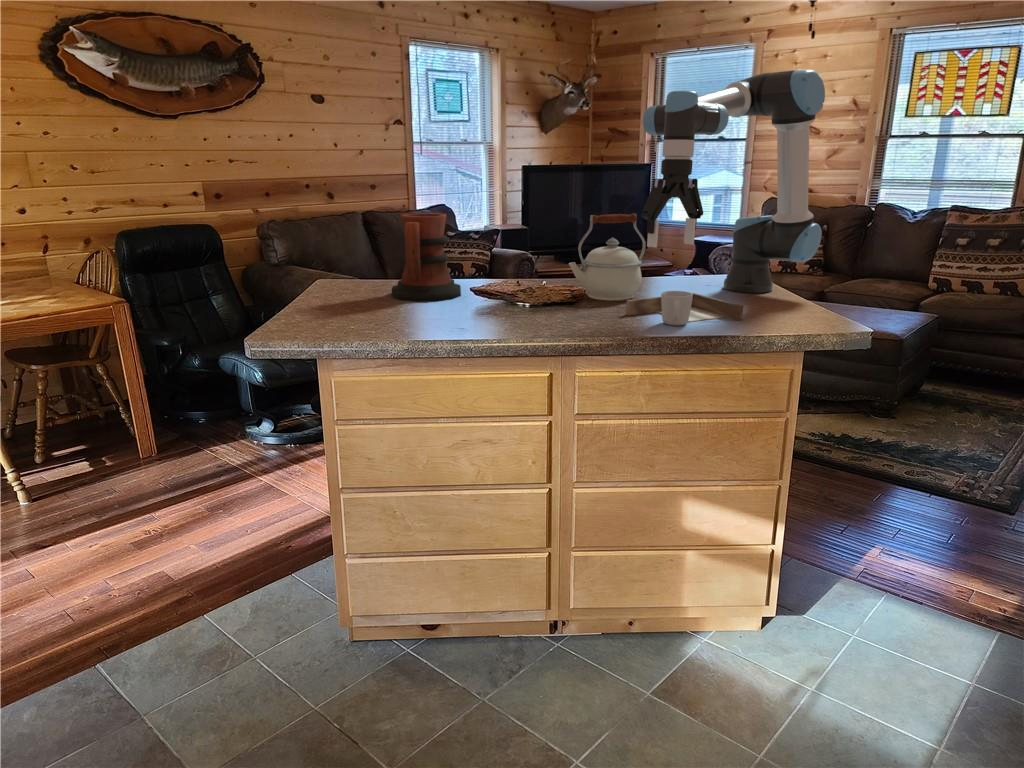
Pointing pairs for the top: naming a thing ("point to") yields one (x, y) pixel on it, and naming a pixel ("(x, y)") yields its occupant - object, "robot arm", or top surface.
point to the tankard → (425, 261)
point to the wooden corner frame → (699, 309)
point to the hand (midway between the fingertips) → (670, 245)
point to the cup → (676, 307)
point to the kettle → (610, 265)
